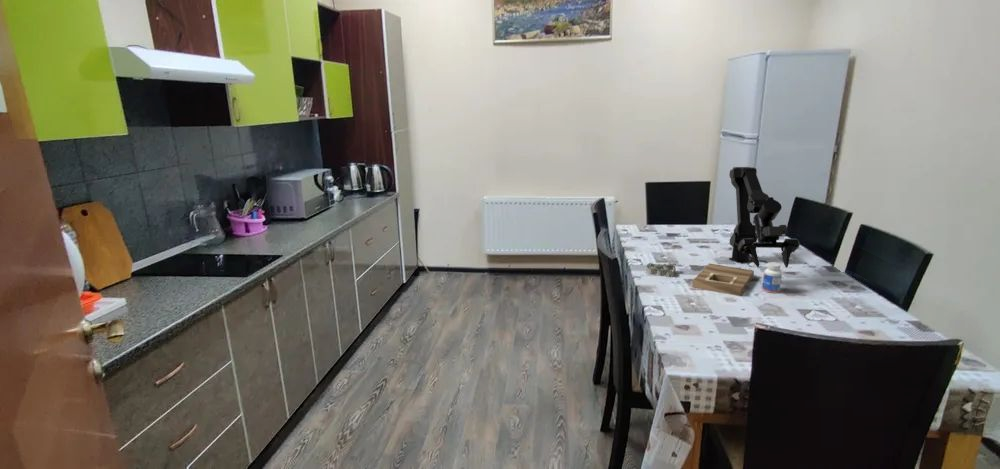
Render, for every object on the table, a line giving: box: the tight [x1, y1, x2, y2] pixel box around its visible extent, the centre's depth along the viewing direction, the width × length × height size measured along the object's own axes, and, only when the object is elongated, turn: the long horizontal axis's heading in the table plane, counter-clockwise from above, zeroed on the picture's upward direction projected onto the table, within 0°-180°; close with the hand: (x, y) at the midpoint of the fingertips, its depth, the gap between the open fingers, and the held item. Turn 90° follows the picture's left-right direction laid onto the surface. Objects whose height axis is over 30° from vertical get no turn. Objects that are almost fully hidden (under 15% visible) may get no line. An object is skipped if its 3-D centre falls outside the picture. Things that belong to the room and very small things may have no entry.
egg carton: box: [645, 262, 677, 278], centre depth 193 cm, size 11×8×4 cm
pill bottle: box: [761, 261, 783, 294], centre depth 172 cm, size 6×5×10 cm
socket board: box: [691, 263, 755, 297], centre depth 182 cm, size 22×16×3 cm
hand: (772, 266), depth 172 cm, fingers open, 9 cm apart
